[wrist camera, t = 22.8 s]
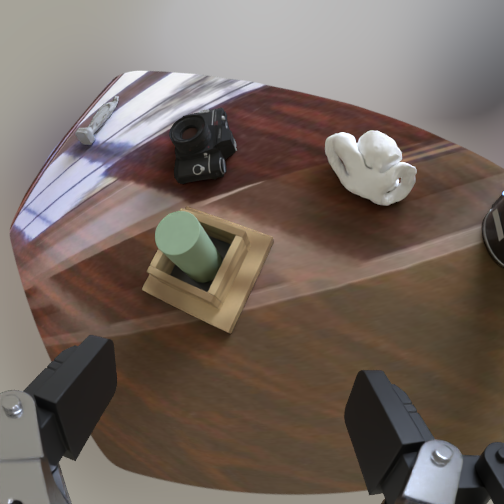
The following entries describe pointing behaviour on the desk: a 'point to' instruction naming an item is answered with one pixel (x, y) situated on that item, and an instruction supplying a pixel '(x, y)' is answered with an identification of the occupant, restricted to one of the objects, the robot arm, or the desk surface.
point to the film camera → (202, 145)
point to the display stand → (226, 280)
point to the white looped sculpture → (370, 166)
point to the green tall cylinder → (188, 246)
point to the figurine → (96, 122)
